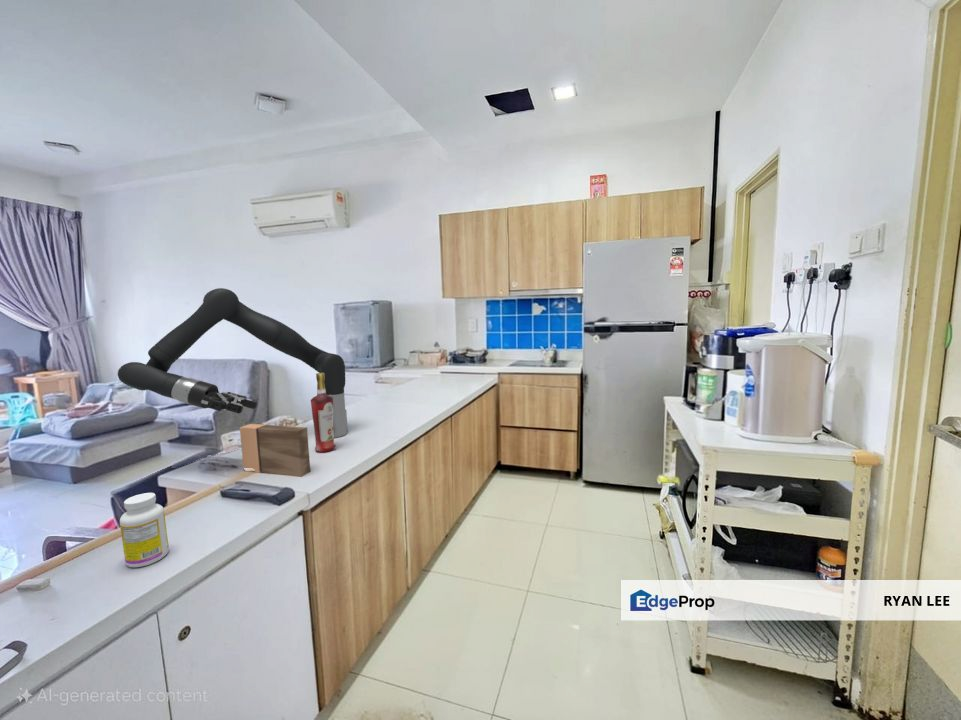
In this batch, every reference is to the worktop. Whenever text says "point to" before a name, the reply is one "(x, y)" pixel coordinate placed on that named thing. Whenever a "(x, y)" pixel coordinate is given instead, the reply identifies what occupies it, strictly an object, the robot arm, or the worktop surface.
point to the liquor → (323, 417)
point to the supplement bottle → (143, 530)
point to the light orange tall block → (250, 446)
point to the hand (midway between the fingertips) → (249, 407)
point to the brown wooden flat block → (283, 450)
